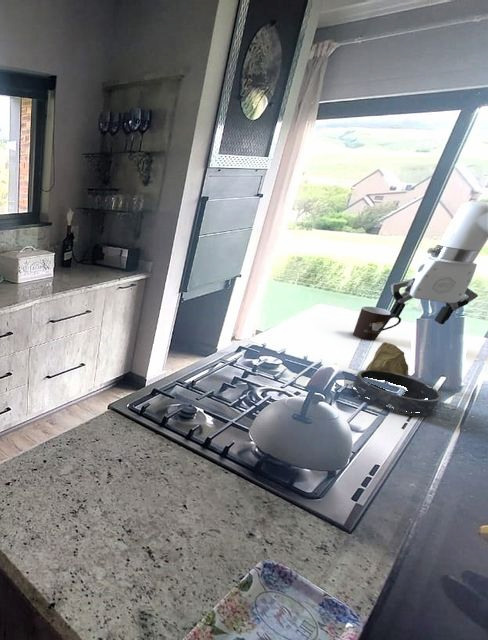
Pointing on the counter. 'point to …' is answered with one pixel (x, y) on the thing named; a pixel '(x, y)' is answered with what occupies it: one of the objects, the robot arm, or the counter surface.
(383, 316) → the coffee mug
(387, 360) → the rock
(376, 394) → the dark grey ring
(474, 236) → the robot arm
